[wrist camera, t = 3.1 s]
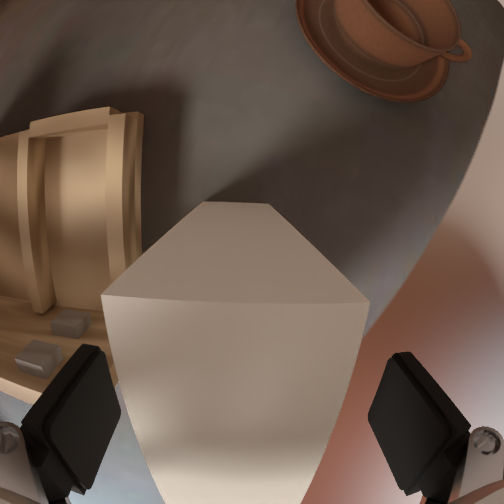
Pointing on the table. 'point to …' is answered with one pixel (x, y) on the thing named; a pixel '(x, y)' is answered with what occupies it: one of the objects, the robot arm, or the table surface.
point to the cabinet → (64, 238)
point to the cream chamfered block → (233, 355)
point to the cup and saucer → (385, 43)
